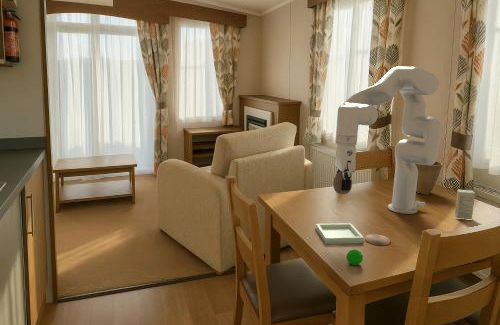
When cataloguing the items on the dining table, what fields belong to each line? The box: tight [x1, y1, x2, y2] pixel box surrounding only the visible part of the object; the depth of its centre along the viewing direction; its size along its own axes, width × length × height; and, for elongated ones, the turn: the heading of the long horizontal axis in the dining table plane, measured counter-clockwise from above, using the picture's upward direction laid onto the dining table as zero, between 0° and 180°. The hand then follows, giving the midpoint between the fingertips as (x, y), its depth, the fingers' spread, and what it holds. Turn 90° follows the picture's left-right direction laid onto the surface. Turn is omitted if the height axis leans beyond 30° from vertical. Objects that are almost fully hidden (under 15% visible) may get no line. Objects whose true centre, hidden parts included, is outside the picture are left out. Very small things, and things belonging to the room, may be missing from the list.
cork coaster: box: [364, 233, 391, 247], centre depth 151 cm, size 9×9×1 cm
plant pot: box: [415, 160, 443, 195], centre depth 211 cm, size 15×15×16 cm
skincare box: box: [454, 189, 476, 220], centre depth 174 cm, size 6×4×12 cm
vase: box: [332, 170, 353, 195], centre depth 152 cm, size 7×7×9 cm
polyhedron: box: [346, 248, 364, 266], centre depth 131 cm, size 5×5×5 cm
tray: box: [315, 222, 365, 245], centre depth 154 cm, size 14×14×2 cm
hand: (342, 186), depth 153 cm, fingers closed on vase, 6 cm apart
